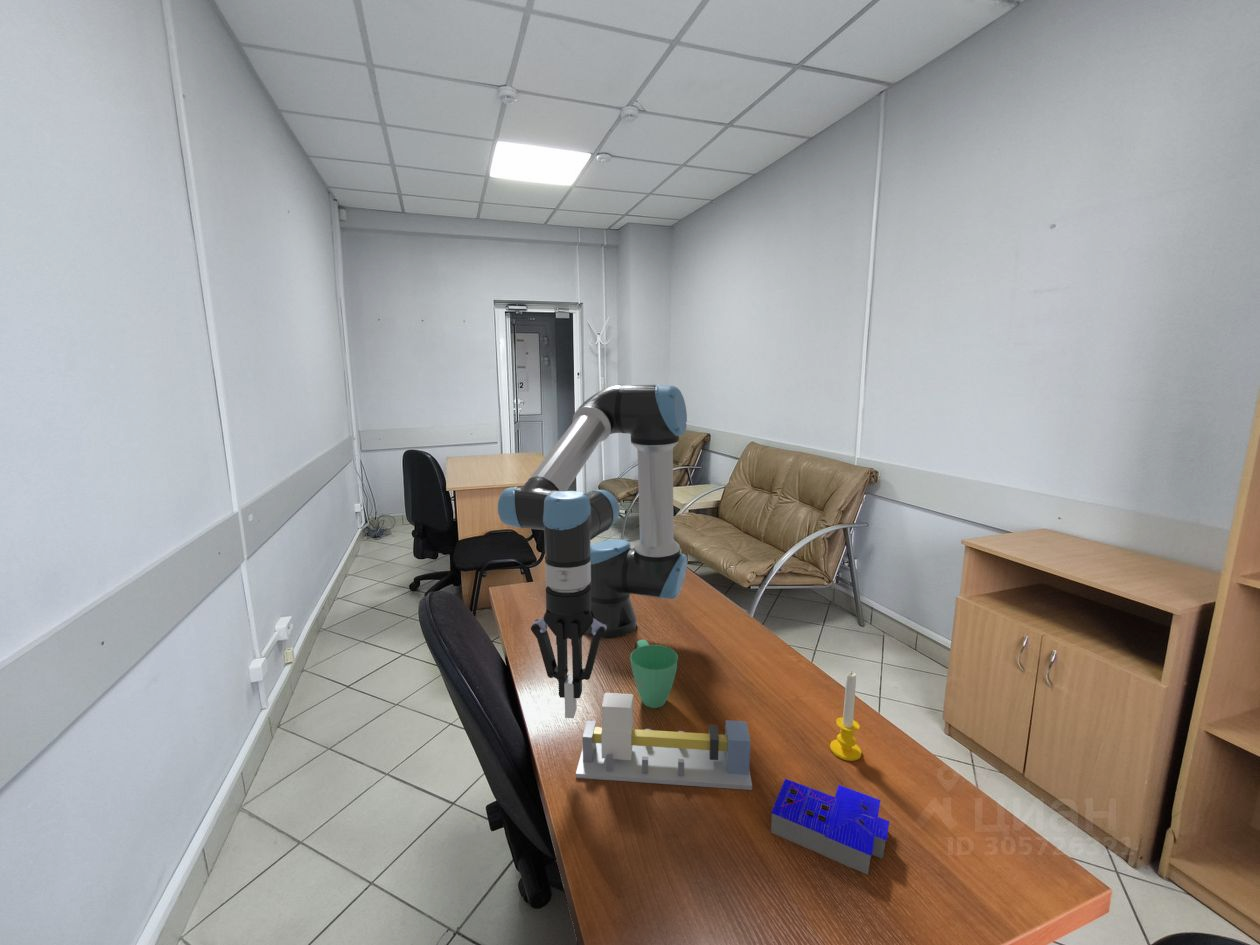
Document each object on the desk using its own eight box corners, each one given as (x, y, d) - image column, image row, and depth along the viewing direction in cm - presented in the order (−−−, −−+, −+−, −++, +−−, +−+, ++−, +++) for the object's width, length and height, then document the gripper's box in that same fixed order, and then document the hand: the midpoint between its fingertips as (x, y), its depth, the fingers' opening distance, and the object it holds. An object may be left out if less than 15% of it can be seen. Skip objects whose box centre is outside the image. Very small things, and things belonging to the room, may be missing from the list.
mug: (685, 710, 107) (686, 664, 105) (639, 719, 104) (639, 672, 102) (659, 672, 120) (659, 631, 119) (617, 680, 117) (617, 638, 116)
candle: (826, 753, 94) (832, 673, 92) (834, 737, 99) (839, 660, 96) (858, 765, 91) (865, 682, 89) (864, 748, 96) (871, 669, 93)
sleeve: (601, 758, 90) (601, 708, 89) (605, 738, 95) (605, 690, 94) (630, 760, 90) (630, 709, 88) (633, 740, 95) (633, 692, 93)
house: (881, 884, 70) (885, 849, 69) (769, 835, 78) (771, 803, 77) (889, 825, 79) (892, 793, 79) (788, 786, 87) (790, 757, 86)
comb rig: (575, 777, 88) (575, 740, 87) (586, 738, 98) (585, 703, 97) (752, 790, 86) (753, 751, 85) (744, 748, 96) (746, 713, 94)
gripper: (523, 592, 85) (528, 724, 89) (603, 595, 84) (604, 729, 88) (536, 575, 92) (540, 698, 96) (610, 578, 91) (610, 702, 95)
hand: (570, 713), depth 92 cm, fingers closed
